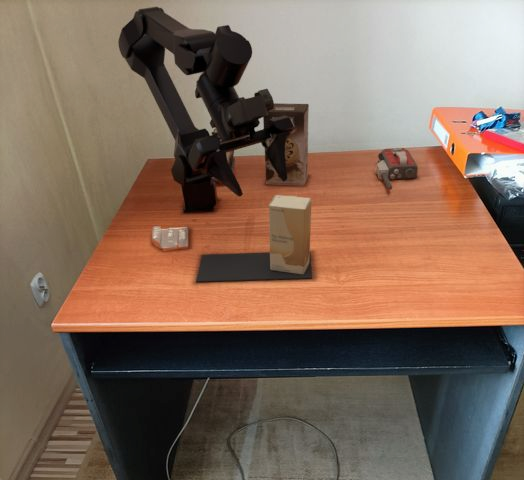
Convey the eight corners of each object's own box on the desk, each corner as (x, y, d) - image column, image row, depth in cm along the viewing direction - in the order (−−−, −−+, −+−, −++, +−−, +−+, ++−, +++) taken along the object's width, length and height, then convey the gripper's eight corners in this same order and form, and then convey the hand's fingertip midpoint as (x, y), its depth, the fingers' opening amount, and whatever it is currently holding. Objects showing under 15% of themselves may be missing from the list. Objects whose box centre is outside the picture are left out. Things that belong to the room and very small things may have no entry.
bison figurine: (232, 186, 119) (228, 141, 113) (202, 187, 120) (196, 143, 114) (237, 166, 128) (234, 124, 122) (209, 167, 129) (204, 125, 123)
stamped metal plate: (154, 232, 104) (153, 226, 103) (188, 229, 104) (187, 222, 103) (151, 252, 98) (150, 245, 97) (188, 248, 98) (187, 241, 97)
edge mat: (196, 282, 89) (195, 281, 89) (202, 256, 96) (202, 254, 96) (312, 279, 88) (312, 277, 88) (310, 252, 95) (310, 250, 94)
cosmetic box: (269, 271, 90) (266, 205, 82) (276, 258, 93) (273, 193, 85) (305, 275, 88) (305, 208, 80) (311, 262, 91) (312, 196, 83)
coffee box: (265, 185, 119) (261, 111, 108) (271, 174, 124) (267, 102, 113) (304, 186, 117) (304, 111, 107) (308, 175, 122) (308, 102, 111)
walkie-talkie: (369, 160, 127) (384, 194, 111) (371, 142, 124) (386, 174, 108) (405, 158, 126) (425, 192, 111) (408, 140, 123) (428, 172, 108)
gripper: (185, 85, 76) (231, 180, 76) (287, 62, 84) (329, 149, 84) (170, 127, 86) (211, 211, 87) (262, 104, 94) (299, 181, 94)
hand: (263, 187), depth 87 cm, fingers open, 9 cm apart
